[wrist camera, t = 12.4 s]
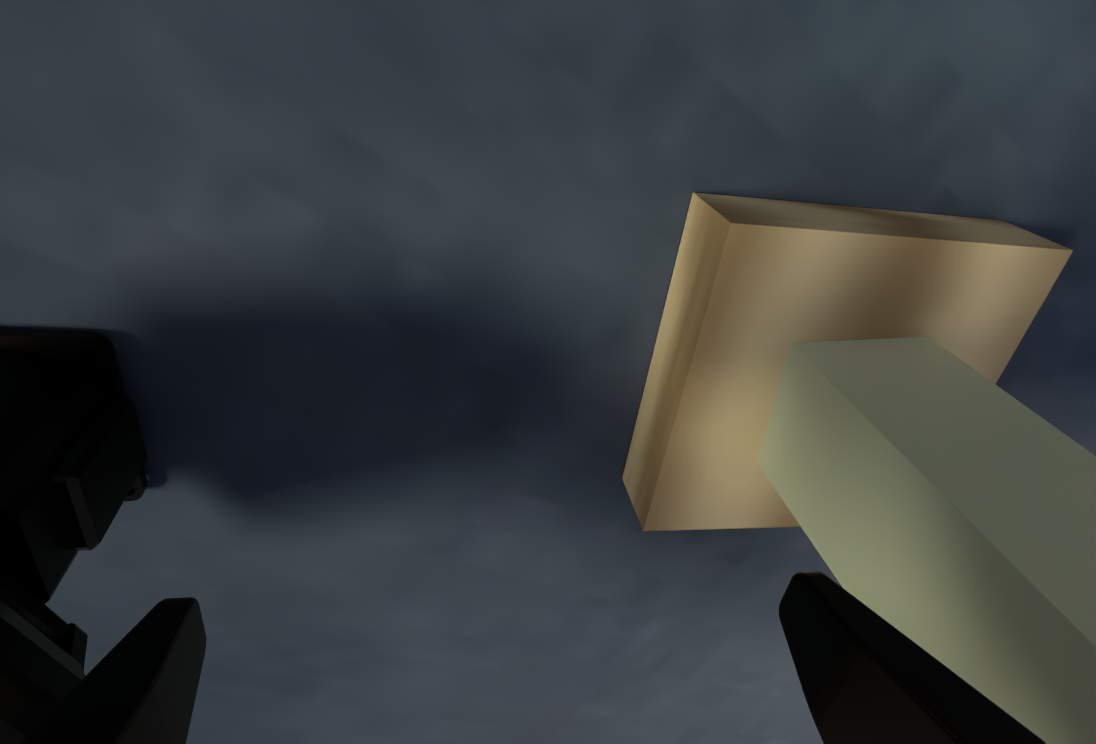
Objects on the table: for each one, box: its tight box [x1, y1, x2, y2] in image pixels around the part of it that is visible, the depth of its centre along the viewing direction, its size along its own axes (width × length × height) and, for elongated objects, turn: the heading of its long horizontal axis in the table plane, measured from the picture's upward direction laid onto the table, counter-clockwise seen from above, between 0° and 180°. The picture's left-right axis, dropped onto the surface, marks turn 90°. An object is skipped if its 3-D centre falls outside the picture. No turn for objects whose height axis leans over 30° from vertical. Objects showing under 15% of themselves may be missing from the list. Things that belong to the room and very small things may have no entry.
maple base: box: [622, 192, 1073, 531], centre depth 23 cm, size 12×12×3 cm
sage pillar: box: [757, 337, 1096, 744], centre depth 17 cm, size 5×5×13 cm
